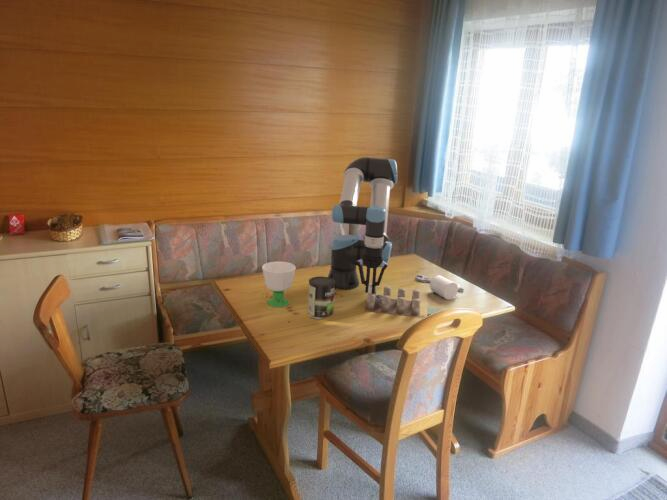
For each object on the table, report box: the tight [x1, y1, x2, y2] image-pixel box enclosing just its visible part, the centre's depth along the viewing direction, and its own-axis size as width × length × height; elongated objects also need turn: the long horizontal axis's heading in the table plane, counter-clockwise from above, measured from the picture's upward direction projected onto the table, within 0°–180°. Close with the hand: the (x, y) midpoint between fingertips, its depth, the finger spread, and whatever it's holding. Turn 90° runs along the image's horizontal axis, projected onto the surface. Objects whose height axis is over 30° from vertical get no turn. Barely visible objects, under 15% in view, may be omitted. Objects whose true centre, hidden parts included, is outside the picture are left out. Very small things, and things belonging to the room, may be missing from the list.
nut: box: [374, 294, 383, 307], centre depth 201 cm, size 4×5×4 cm
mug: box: [429, 274, 461, 300], centre depth 217 cm, size 12×10×8 cm
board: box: [364, 285, 421, 318], centre depth 200 cm, size 22×16×7 cm
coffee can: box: [307, 276, 336, 320], centre depth 191 cm, size 10×10×14 cm
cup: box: [261, 260, 297, 308], centre depth 199 cm, size 14×14×16 cm
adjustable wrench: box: [415, 274, 465, 293], centre depth 230 cm, size 25×6×2 cm, turn 46°
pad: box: [426, 306, 442, 317], centre depth 199 cm, size 8×7×1 cm
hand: (369, 300), depth 201 cm, fingers closed
